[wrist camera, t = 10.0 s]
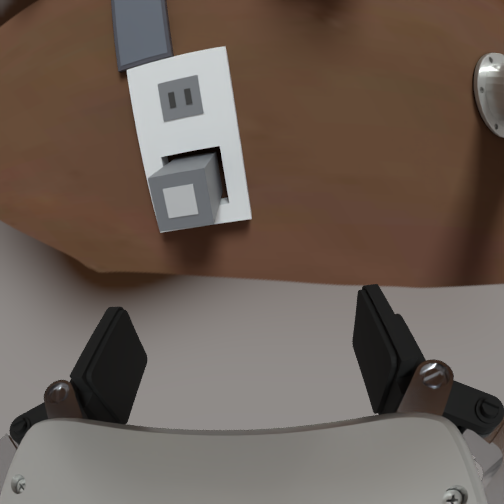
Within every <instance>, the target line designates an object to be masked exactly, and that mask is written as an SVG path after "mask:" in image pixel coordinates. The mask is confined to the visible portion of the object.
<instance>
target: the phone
mask: <svg viewBox="0 0 504 504" xmlns="http://www.w3.org/2000/svg"><path fill="white" fill-rule="evenodd" d="M111 4H112V18H113V29H114V39H115V48H116V57H117V65H118V71H119V72H124V71H127V70H128V69H131V68H134V67H137V66H141V65H144V64H148V63H151V62H155V61H158V60H162V59H166V58H170V57H174V55H173V48H172V41H171V34H170V27H169V19H168V11H167V3H166V0H111Z"/></svg>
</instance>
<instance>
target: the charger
mask: <svg viewBox="0 0 504 504" xmlns="http://www.w3.org/2000/svg"><path fill="white" fill-rule="evenodd" d="M148 183H149V187H150V192H151V196H152V201H153V205H154V209H155V213H156V218H157V222H158V226H159V230H160V232H163V231H169V230H176V229H183V228H191V227H198V226H205V225H213V224H214V223H215V219H216V215H217V211H218V207H219V204H220V200H221V196H222V192H223V190H222V183H221V177H220V171H219V164H218V158H217V151H214V152H207V153H201V154H195V155H189V156H184V157H178V158H175V159H173V160H172V161H171V162H169V163H168V164H166V165H165V166H164V167H162V168H161V169H159V170H158V171H157V172H155V173H154V174H153V175H151V176H150V177H149V178H148Z"/></svg>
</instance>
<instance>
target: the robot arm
mask: <svg viewBox="0 0 504 504" xmlns="http://www.w3.org/2000/svg"><path fill="white" fill-rule="evenodd" d="M474 93H475V99H476V103H477V106H478V109H479V112H480V114H481V117H482V119H483V120H484V122H485V124H486V125H487V127H488V128H489V129H490V130H491V131H492V132H493V133H494V134H496V135H497V136H499V137H502V138H504V55H502V54H499V53H488V54H485V55H484V56H482V57H481V58H480V60H479V61H478V63H477V65H476V68H475V73H474ZM353 348H354V352H355V355H356V358H357V361H358V364H359V367H360V370H361V373H362V376H363V379H364V382H365V386H366V389H367V392H368V395H369V398H370V402H371V405H372V409H373V412H374V413H375V414H376V413H378V414H379V415H375V416H368V417H362V418H356V419H350V420H344V421H337V422H331V423H322V424H315V425H306V426H297V427H286V428H273V429H257V430H223V431H222V430H183V429H166V428H153V427H143V426H134V425H125V424H126V423H127V422H128V419H129V416H130V412H131V409H132V406H133V402H134V400H135V397H136V394H137V390H138V388H139V385H140V382H141V379H142V375H143V373H144V370H145V367H146V364H147V355H146V353H145V351H144V348H143V346H142V344H141V342H140V340H139V337H138V335H137V333H136V331H135V329H134V326H133V324H132V322H131V320H130V317H129V315H128V313H127V311H126V310H124V309H123V308H122V307H109V308H108V309H107V310H106V312H105V314H104V316H103V317H102V319H101V320H100V322H99V324H98V325H97V327H96V329H95V331H94V333H93V334H92V336H91V338H90V339H89V341H88V343H87V345H86V347H85V349H84V350H83V352H82V354H81V356H80V357H79V359H78V361H77V363H76V365H75V367H74V369H73V371H72V372H71V375H70V377H71V380H70V382H68V381H66V380H58V381H55V382H53V383H52V384H50V386H49V387H47V389H46V391H45V393H44V403H42V404H40V405H39V406H37V407H35V408H33V409H31V410H29V411H27V412H26V413H24V414H22V415H20V416H18V417H17V418H16V419H15V420H14V421H13V422H12V424H11V426H10V435H8V434H6V435H5V436H4V437H2V438H1V439H0V504H504V407H503V405H502V403H501V401H500V400H499V399H498V398H497V397H495V396H493V395H490V394H488V393H485V392H482V391H480V390H477V389H474V388H472V387H469V386H467V385H464V384H462V383H459V382H456V381H454V380H453V379H454V375H453V371H452V370H451V368H450V367H449V366H448V365H447V364H446V363H444V362H442V361H439V360H427V361H426V360H425V358H424V356H423V354H422V353H421V350H420V349H419V347H418V345H417V343H416V341H415V339H414V337H413V336H412V334H411V332H410V330H409V328H408V326H407V325H406V323H405V321H404V320H403V318H402V316H401V315H400V314H394V312H393V310H392V308H391V307H390V305H389V303H388V301H387V299H386V298H385V296H384V294H383V293H382V291H381V289H380V287H379V286H378V284H373V285H366V286H363V287H362V290H359V291H358V296H357V306H356V316H355V325H354V333H353ZM472 455H473V456H474V457H476V458H475V459H473V456H472ZM474 460H475V461H476V462H477V463H478V464H479V465H480V466H481V467H482V470H483V478H482V480H481V479H480V476H479V473H478V470H477V467H476V464H475V461H474Z"/></svg>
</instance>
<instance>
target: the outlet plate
mask: <svg viewBox="0 0 504 504" xmlns="http://www.w3.org/2000/svg"><path fill="white" fill-rule="evenodd" d="M127 77H128V83H129V90H130V96H131V102H132V108H133V114H134V119H135V125H136V130H137V135H138V140H139V145H140V150H141V155H142V159H143V164H144V169H145V173H146V177H147V182H148V178H149V177H150V176H151V175H153V174H154V173H155V172H157V171H158V170H159V169H161V168H162V167H164V166H165V165H166V164H168V163H169V162H168V157H167V156H169V155H174V154H179V153H184V152H189V151H194V150H199V149H205V148H211V147H217V146H220V151H221V157H222V163H223V169H224V175H225V181H226V186H227V192H228V197H227V198H221V200H220V204H219V207H218V211H217V215H216V219H215V223H214V224H220V223H227V222H233V221H240V220H248V219H252V217H251V207H250V200H249V194H248V187H247V180H246V174H245V167H244V160H243V154H242V147H241V141H240V134H239V127H238V121H237V114H236V108H235V101H234V95H233V88H232V82H231V76H230V69H229V63H228V56H227V50H226V47H225V46H224V47H218V48H212V49H207V50H201V51H196V52H192V53H187V54H183V55H178V56H174V57H170V58H166V59H162V60H158V61H155V62H151V63H148V64H144V65H141V66H137V67H134V68H131V69H128V70H127ZM148 186H149V183H148ZM149 190H150V187H149ZM150 195H151V192H150ZM151 199H152V196H151ZM152 203H153V201H152ZM153 207H154V205H153ZM154 211H155V209H154ZM155 215H156V213H155ZM205 226H206V225H205ZM198 227H200V226H198ZM191 228H193V227H191ZM183 229H187V228H183ZM176 230H180V229H176ZM169 231H174V230H169ZM163 232H168V231H163ZM160 233H162V232H160Z"/></svg>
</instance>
